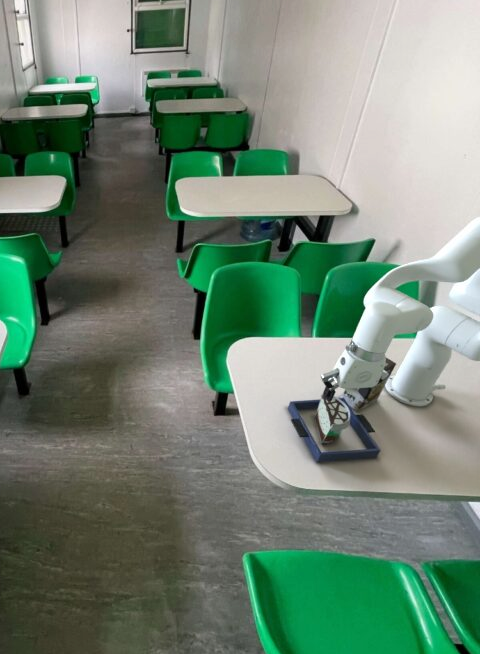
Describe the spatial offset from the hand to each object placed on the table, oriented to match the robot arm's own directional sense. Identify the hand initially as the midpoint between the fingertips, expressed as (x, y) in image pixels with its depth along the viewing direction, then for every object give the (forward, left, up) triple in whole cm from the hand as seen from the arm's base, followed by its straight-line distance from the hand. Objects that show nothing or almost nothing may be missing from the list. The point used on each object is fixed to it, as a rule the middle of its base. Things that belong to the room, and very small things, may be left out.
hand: (344, 396), depth 113 cm
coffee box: (-15, -11, -16) cm, 25 cm away
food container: (0, 0, -16) cm, 16 cm away
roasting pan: (0, 0, -15) cm, 15 cm away
